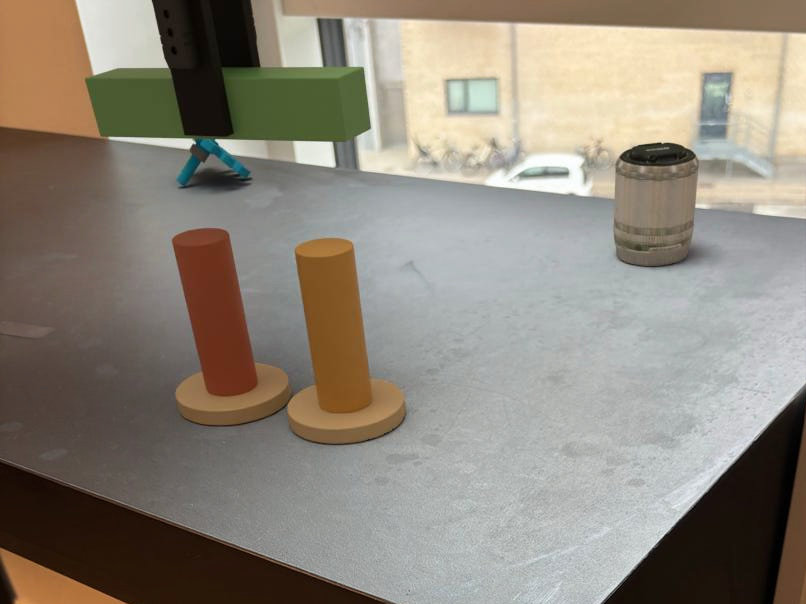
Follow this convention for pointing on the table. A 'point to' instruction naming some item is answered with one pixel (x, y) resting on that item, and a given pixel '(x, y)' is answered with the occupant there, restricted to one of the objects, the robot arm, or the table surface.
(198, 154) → the teal blocky crossed piece
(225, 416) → the terracotta rod
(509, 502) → the table surface
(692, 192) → the camera lens
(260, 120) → the green bar
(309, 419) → the ochre rod
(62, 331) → the table surface
